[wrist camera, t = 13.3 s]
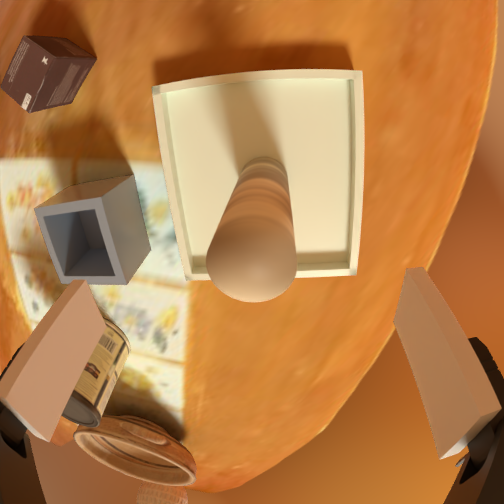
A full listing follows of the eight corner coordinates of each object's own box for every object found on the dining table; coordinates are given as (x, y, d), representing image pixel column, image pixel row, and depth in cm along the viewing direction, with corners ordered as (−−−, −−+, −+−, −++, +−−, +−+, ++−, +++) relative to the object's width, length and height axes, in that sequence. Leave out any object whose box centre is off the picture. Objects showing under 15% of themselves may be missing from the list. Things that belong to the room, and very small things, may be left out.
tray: (161, 86, 25) (151, 86, 23) (354, 72, 23) (362, 70, 21) (191, 267, 34) (185, 280, 32) (351, 262, 33) (356, 275, 30)
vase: (195, 476, 74) (184, 535, 54) (187, 485, 82) (177, 536, 62) (145, 462, 72) (129, 520, 53) (144, 473, 80) (130, 523, 61)
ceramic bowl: (89, 364, 47) (68, 406, 38) (230, 422, 52) (223, 466, 43) (87, 427, 64) (76, 455, 56) (180, 465, 69) (174, 493, 60)
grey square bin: (70, 185, 30) (34, 208, 24) (134, 174, 29) (101, 197, 23) (90, 252, 35) (61, 283, 29) (151, 249, 34) (127, 284, 28)
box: (67, 37, 22) (24, 33, 15) (99, 59, 23) (56, 56, 17) (42, 81, 24) (-2, 87, 18) (71, 105, 26) (27, 114, 19)
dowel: (238, 158, 27) (199, 226, 14) (286, 155, 26) (296, 221, 13) (242, 203, 29) (213, 302, 16) (288, 201, 28) (297, 300, 15)
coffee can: (77, 344, 45) (41, 405, 32) (74, 303, 40) (27, 371, 27) (129, 368, 46) (100, 436, 33) (134, 330, 41) (97, 408, 28)
